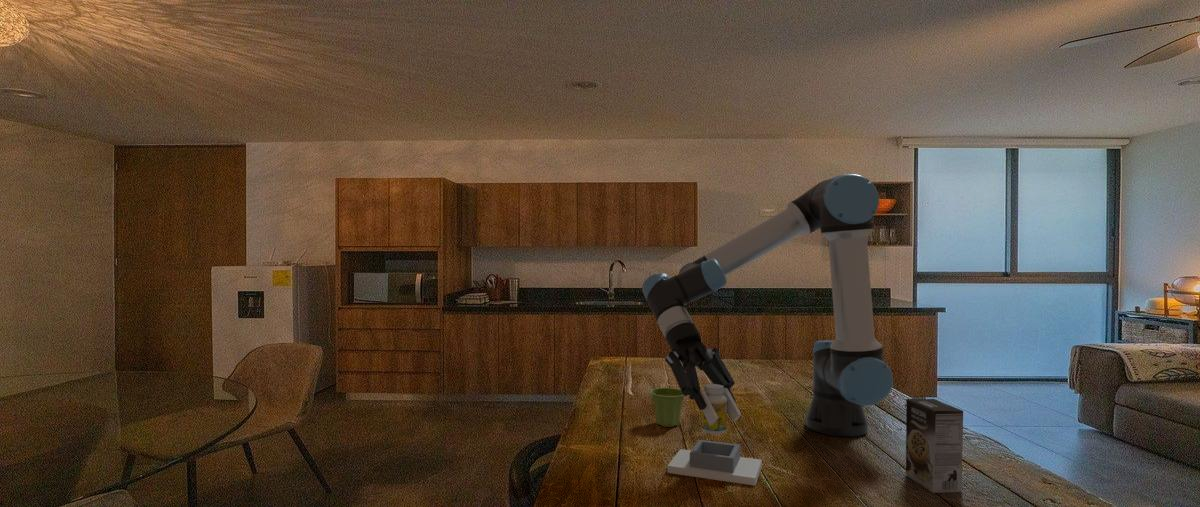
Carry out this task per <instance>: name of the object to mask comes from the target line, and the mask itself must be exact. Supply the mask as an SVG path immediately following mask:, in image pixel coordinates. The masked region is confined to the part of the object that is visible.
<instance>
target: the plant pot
mask: <svg viewBox="0 0 1200 507" xmlns="http://www.w3.org/2000/svg"><path fill="white" fill-rule="evenodd" d="M650 394H651V397H652V399H653V406H654V407H653V408H654V412H655V413H654V415H655V423H656V425H660V426H661V427H665V428H668V427H669V428H673V427H675V426H676V427H677V426H678V427H679V425H680V421H681V420H680V419H681V414H682V406H683V401H684V398H685V396H684V395H683V394H682V391H681V389H680V388H675V387H658V388H657V387H656V388H653V389H651V390H650Z"/></svg>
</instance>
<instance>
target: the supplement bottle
mask: <svg viewBox="0 0 1200 507" xmlns="http://www.w3.org/2000/svg"><path fill="white" fill-rule="evenodd" d="M703 391H705V392H706V394H707V396H708V398H709V400H710V402H711V404H712V406H713V408H714V410H715V412H716V414H717V416H718V420H717V421H716V422H715V423H714V424H713V425H709V423H708V421H707V419H706V417H705V415H704V413H703V411H702V410H701V417H700V418H701V422H700V423H701V430H702V432H703V433H706V434H709V435H710V434H711V435H722V434H725V433H727V431H728V412H727V398H726V397H725V396H724V395H722V394H723V393H724V386H722V385H718V384H713V383H707V384H705V385H704V390H703Z"/></svg>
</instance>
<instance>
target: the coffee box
mask: <svg viewBox="0 0 1200 507" xmlns="http://www.w3.org/2000/svg"><path fill="white" fill-rule="evenodd" d="M905 400H906V403H905V404H906V406H905V408H906V409H905V410H906V413H905V417H906V422H905V425H906V426H905V427H906V428H905V433H906V434H905V444H906V445H905V476H906V477H908V478H910V479H911V480H913V481H914V482H915V483H917V484H919V485H921V487H923V488H925V489H926V490H928V491H929V492H930V493H933V494H934V493H937V494H938V493H939V494H941V493H942V494H943V493H962V491H963V490H962V484H963V482H962V481H963V477H962V476H963V445H964V444H963V441H964V438H963V437H964V410H962V409H960V408H957V407H954V406H953V405H949V404H947V403H946V402H943V401H941V400H938V399H936V398H919V397H918V398H906V399H905Z"/></svg>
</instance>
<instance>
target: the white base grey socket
mask: <svg viewBox="0 0 1200 507" xmlns="http://www.w3.org/2000/svg"><path fill="white" fill-rule="evenodd" d="M762 467H763V460H762V459H758V458H751V457H743V456H741V444H736V443H728V442H720V441H714V440H713V441H711V440H705V439H698V440H697V442H696V443H695V445H694V446H693V447H692V449H691V450H689V449H683V448H680V449H679V450H678V451H677V453H676V454H675V455H674V457H673V458H672V460H670V462H669V463H668V464H667V473H668V474H674V475H679V476H687V477H695V478H701V479H707V480H715V481H721V482H726V483H727V482H728V483H733V484H734V483H736V484H740V485H741V484H742V485H749V486H753V487H755V486H756V484H757V483H758V482H757V481H758V479H759V476H760V473H761V470H762Z"/></svg>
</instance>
